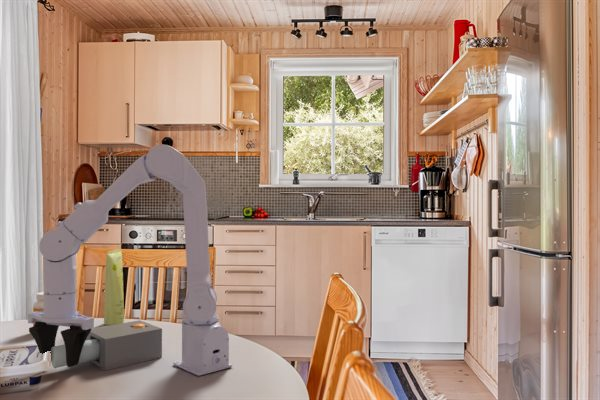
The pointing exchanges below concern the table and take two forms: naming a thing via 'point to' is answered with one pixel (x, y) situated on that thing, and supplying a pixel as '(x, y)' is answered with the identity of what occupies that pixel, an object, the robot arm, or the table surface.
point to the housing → (126, 344)
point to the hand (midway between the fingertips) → (60, 363)
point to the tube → (114, 289)
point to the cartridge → (87, 354)
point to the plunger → (138, 326)
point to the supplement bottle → (39, 303)
